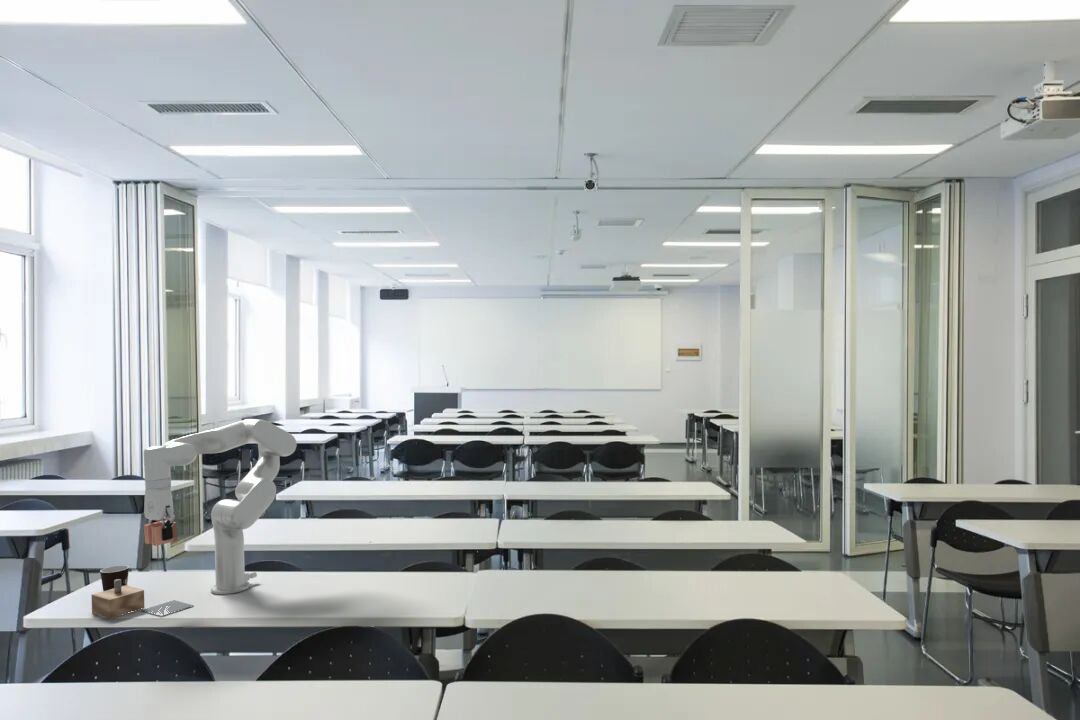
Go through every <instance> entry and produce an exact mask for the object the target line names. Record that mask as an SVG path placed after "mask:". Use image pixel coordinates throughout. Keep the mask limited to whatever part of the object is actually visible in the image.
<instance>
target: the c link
mask: <svg viewBox="0 0 1080 720" xmlns="http://www.w3.org/2000/svg"><path fill="white" fill-rule="evenodd" d="M166 522H167V520H166V521H165V523H166ZM177 525H178V523H177V522H176V521H174V522H173V527H172V531H173V538H172V539H169V540H165V541H163V540H162V528H163V526H162V523H161V520H160V521H158V522H155V523H151V524H148V523H147V524H144V525H143V530H144V531H143V533H144V543H145V544H146V545H151V544H152V546H155V547H158V546H161V545H165V544H166V545H167V544H170V543H173V542H177V541H178V526H177Z"/></svg>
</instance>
